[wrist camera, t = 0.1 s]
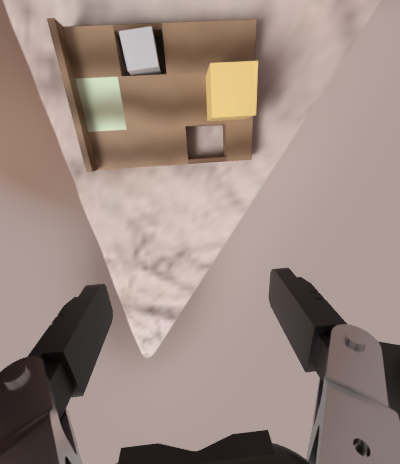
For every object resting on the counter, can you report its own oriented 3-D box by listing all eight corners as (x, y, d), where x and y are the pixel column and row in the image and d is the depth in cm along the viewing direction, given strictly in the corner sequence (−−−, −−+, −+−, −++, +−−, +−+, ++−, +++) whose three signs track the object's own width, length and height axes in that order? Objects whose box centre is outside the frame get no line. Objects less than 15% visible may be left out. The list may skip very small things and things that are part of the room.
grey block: (126, 44, 30) (118, 31, 26) (155, 40, 30) (151, 26, 26) (134, 79, 31) (127, 71, 27) (161, 75, 31) (158, 66, 28)
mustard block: (205, 76, 29) (210, 63, 24) (245, 74, 30) (258, 60, 25) (207, 121, 32) (212, 117, 27) (244, 119, 32) (256, 115, 27)
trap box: (66, 36, 29) (46, 18, 25) (250, 28, 30) (261, 10, 26) (97, 168, 35) (86, 172, 31) (247, 158, 36) (255, 160, 32)
